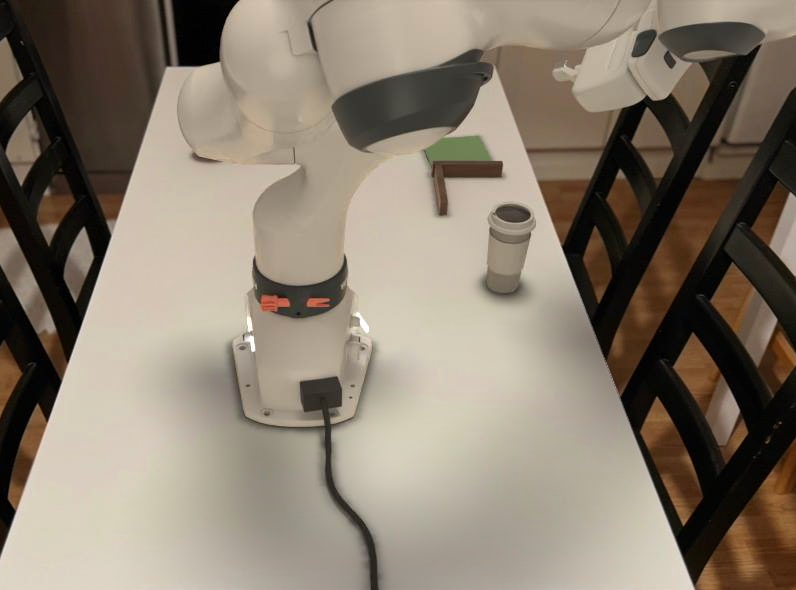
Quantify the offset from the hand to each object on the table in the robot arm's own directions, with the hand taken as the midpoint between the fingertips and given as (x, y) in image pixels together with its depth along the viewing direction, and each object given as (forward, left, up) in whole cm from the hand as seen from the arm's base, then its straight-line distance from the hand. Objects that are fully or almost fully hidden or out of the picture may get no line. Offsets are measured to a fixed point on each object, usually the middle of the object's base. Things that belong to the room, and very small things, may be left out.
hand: (568, 38), depth 110 cm
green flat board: (+40, +7, -36) cm, 54 cm away
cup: (0, +4, -36) cm, 36 cm away
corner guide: (+26, +5, -36) cm, 44 cm away
